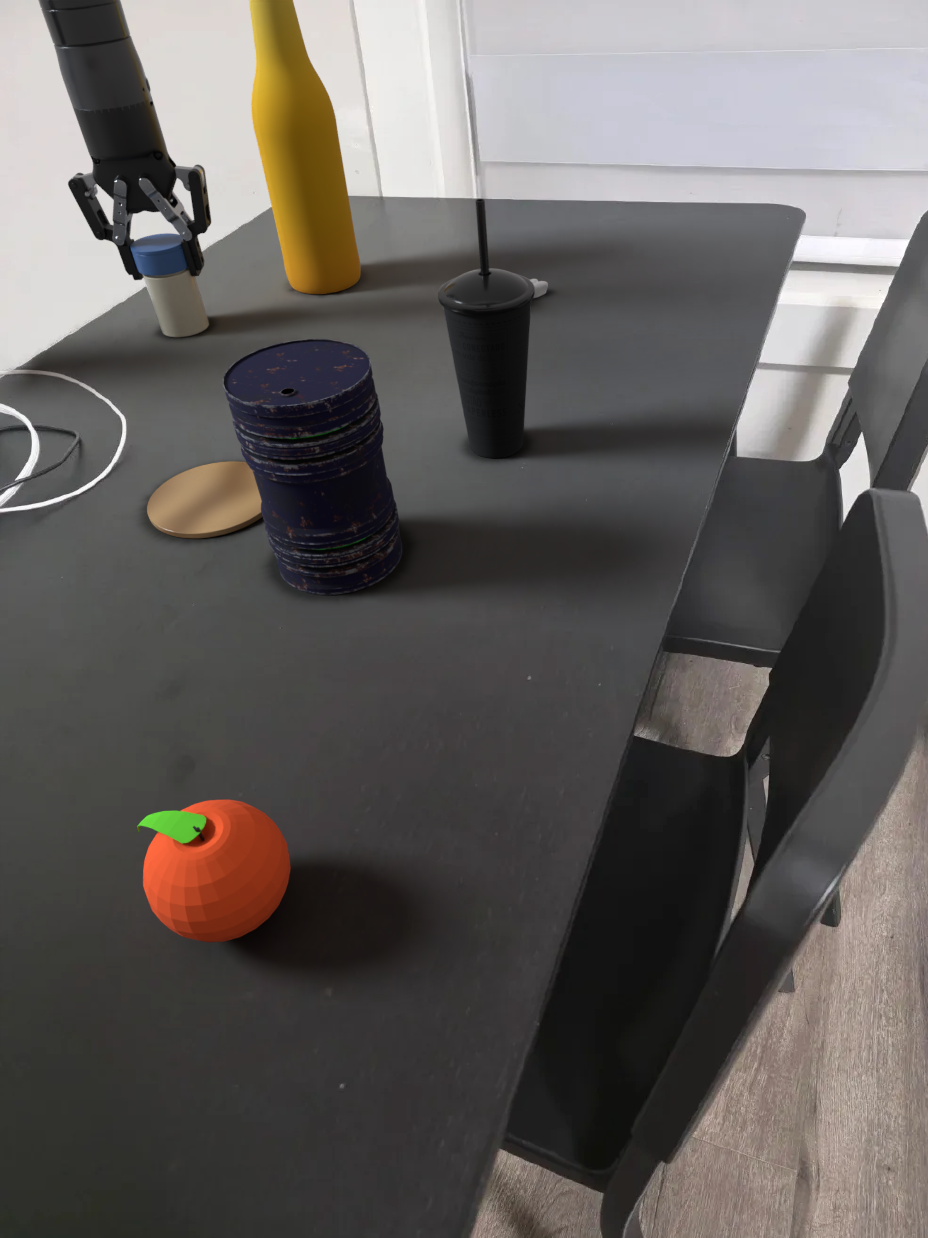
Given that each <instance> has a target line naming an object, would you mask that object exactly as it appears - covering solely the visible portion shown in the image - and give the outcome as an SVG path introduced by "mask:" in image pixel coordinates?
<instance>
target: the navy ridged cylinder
mask: <svg viewBox="0 0 928 1238" xmlns="http://www.w3.org/2000/svg"><path fill="white" fill-rule="evenodd" d="M373 374H374V373H373V368H372V361H371V357H370V356H369V354H368V353H367V352H366V351H365V349H363V348H361V347H359V346H358V345H355V344H353V343H350V342H347V341H343V340H337V339H331V338H330V339H328V338H305V339H304V338H303V339H296V340H289V341H282V342H278V343H274V344H271V345H268V346H264V347H261V348H259V349H257V350H254V351H252V352H250V353H247V354H246V355H244V356H242V357H240V358H239V359H237V360H236V361H235V362H233V363H232V364H231V365H230V366H229V367H228V368H227V370H226V371H225V372H224V375H223V377H222V382H221V383H222V387H223V390H224V393H225V397H226V400H227V401H228V407H229V410H230V413H231V417H232V420H231V421H232V425H233V428H234V432H235V435H236V438H237V441H238V442H239V444H240V451H241V455H242V458H243V459H244V460H245V462H246V463H247V464H248V466H249V467H250V469H252V471H253V474H254V477H255V480H256V484H257V487H258V490H259V494H260V497H261V500H262V502H261V512H262V516H263V517H262V519H263V523H264V527H265V528H264V530H265V533H266V537H267V539H268V543H269V546H270V548H271V550H272V551H273V554H274V557H275V559H276V564H277V567H278V571H279V573H280V574H279V575H280V576H281V577H282V579H283V581H285V582H286V583H287V584H288V585H290V586H291V587H293V588H295V589H297V590H299V591H301V592H304V593H308V594H312V595H313V594H314V595H323V596H324V595H325V596H331V595H333V596H334V595H344V594H349V593H353V592H358V591H361V590H363V589H366V588H368V587H371V586H373V585H374V584H376V583H379V582H380V581H382V580H383V579H385V578H386V577H388V576H389V574H391V573H392V572H393V571H394V570H395V568H396V567H397V566H398V564H399V563H400V561H401V559H402V555H403V544H402V539H401V536H400V526H399V525H400V517H399V512H398V505H397V502H396V500H395V495H394V491H393V485H392V482H391V481H390V478H389V477H388V474H387V469H386V463H385V457H384V451H383V443H384V429H385V428H384V423H383V421H382V420H381V417H382V411H381V406H380V400H379V396H378V393H377V391H376V385H375V381H374V378H373Z"/></svg>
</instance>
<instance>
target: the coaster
mask: <svg viewBox="0 0 928 1238" xmlns="http://www.w3.org/2000/svg"><path fill="white" fill-rule="evenodd" d="M261 502H262V500H261V497H260V494H259V490H258V487H257V484H256V480H255V477H254V474H253V471H252V469H250V467H249V466H248V464H247V463H246V461H237V460H236V461H233V460H232V461H218V462H212V463H207V464H202V465H199V466H196V467H195V466H194V467H193V468H190V469H187V470H185V471H182V472H180V473H178V474H176V475H174V476H173V477H171V478H169V479H168V480H166V481H164V482H163V483H162V484H161V485H160V486H159V487H158V488H156V489H155V490H154V492H153V493H152V495H150V497H149V499H148V502H147V506H146V513H147V516H148V518H149V521H150V522H151V524H152V526H153V527H155V529H157V530H158V531H160V532H161V533H164V534H166V535H168V536H172V537H176V538H182V539H206V538H214V537H219V536H223V535H227V534H230V533H234V532H236V531H237V532H238V531H239V530H242V529H244V528H247V527H248V526H250V525H253V524H254V523H255V522H257V521H259V520H260V519H263V516H262V512H261Z"/></svg>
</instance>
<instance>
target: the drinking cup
mask: <svg viewBox="0 0 928 1238" xmlns="http://www.w3.org/2000/svg"><path fill="white" fill-rule="evenodd" d="M475 212H476V213H475V214H476V227H477V240H478V241H477V242H478V253H479V255H478V256H479V267H480V268H477V269H473V270H470V271H466V272H464V273H462V274H461V275H460V274H459V275H458V276H456V277H453V278H451V279H450V280H447V281H446V282H444V283H443V284H442V285H441V286H440V287H439V289H438V292H437V299H438V302H439V304H440V305H441V307H442V308H443V312H444V318H445V325H446V329H447V334H448V339H449V344H450V349H451V355H452V360H453V365H454V370H455V371H454V372H455V375H456V380H457V386H458V391H459V397H460V400H461V407H462V412H463V417H464V422H465V428H466V433H467V438H468V439H467V440H468V443H469V444H468V445H469V448H470V450H471V451H472V452H473V453H474V454H475V455H477V456H479V457H483V458H488V459H501V458H506V457H509V456H512V455H514V454H517V453H518V452H519V451H520V450H521V449H522V447H523V445H524V434H525V418H526V417H525V416H526V415H525V414H526V397H527V382H528V381H527V377H528V363H529V362H528V361H529V346H530V345H529V343H530V328H531V327H530V326H531V309H532V307H531V306H532V300H533V299H534V298H533V297H534V294H535V288H534V285H533V283H532V282H531V281H530V280H531V279H529V278H528V277H526V276H523V275H521V274H518V273H515V272H512V271H509V270H505V269H502V268H494V267H493V268H492V267H490V263H489V262H490V261H489V260H490V259H489V246H488V230H487V215H486V214H487V213H486V199H484V198H477V199H475Z"/></svg>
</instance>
